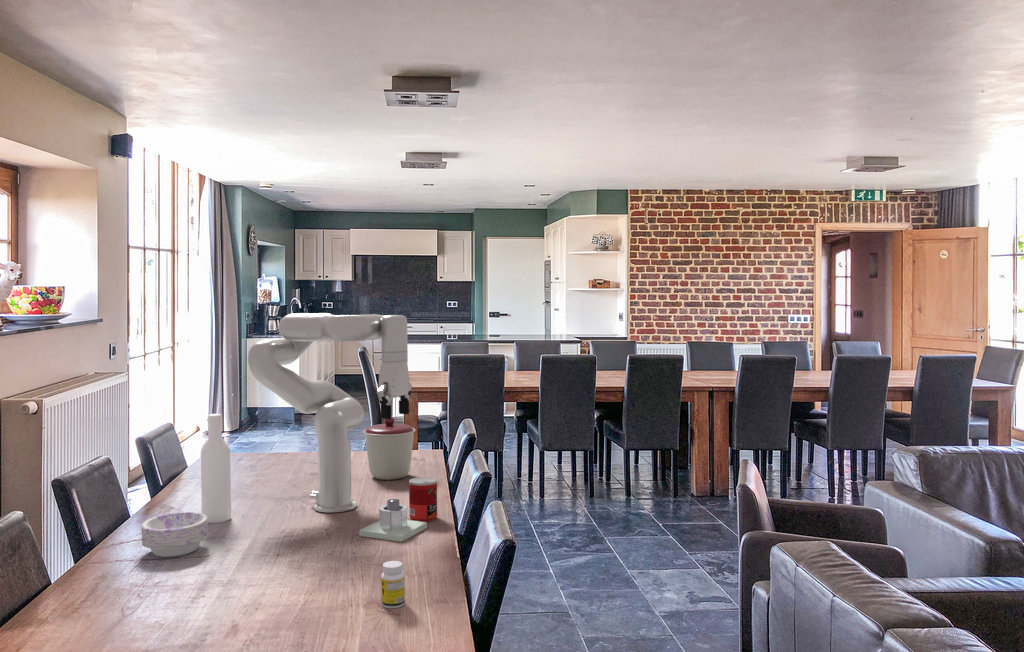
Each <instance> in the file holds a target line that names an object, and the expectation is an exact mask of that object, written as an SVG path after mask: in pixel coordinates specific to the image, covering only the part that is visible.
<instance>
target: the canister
mask: <svg viewBox="0 0 1024 652" xmlns="http://www.w3.org/2000/svg"><path fill="white" fill-rule="evenodd" d="M383 420H384V421H383V422H384V423H381V424H380V423H379V424H374V425H370V426H368V427H367V428H366V429H364V430H363V434H364V436H365V437H364V438H365V444H366V452H367V461H368V467H369V468H368V469H369V472H370V475H371V476H372V477H373V478H375V479H377V480H382V481H393V480H400V479H402V478H405V477H407V476H408V475H409V473H410V469H411V464H412V463H411V461H412V454H413V445H414V433H416V429H415V428H414V427H413V426H411V425H410V424H405V423H397V422H396V423H395V419H394V417H392V416H391V419H383Z"/></svg>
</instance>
